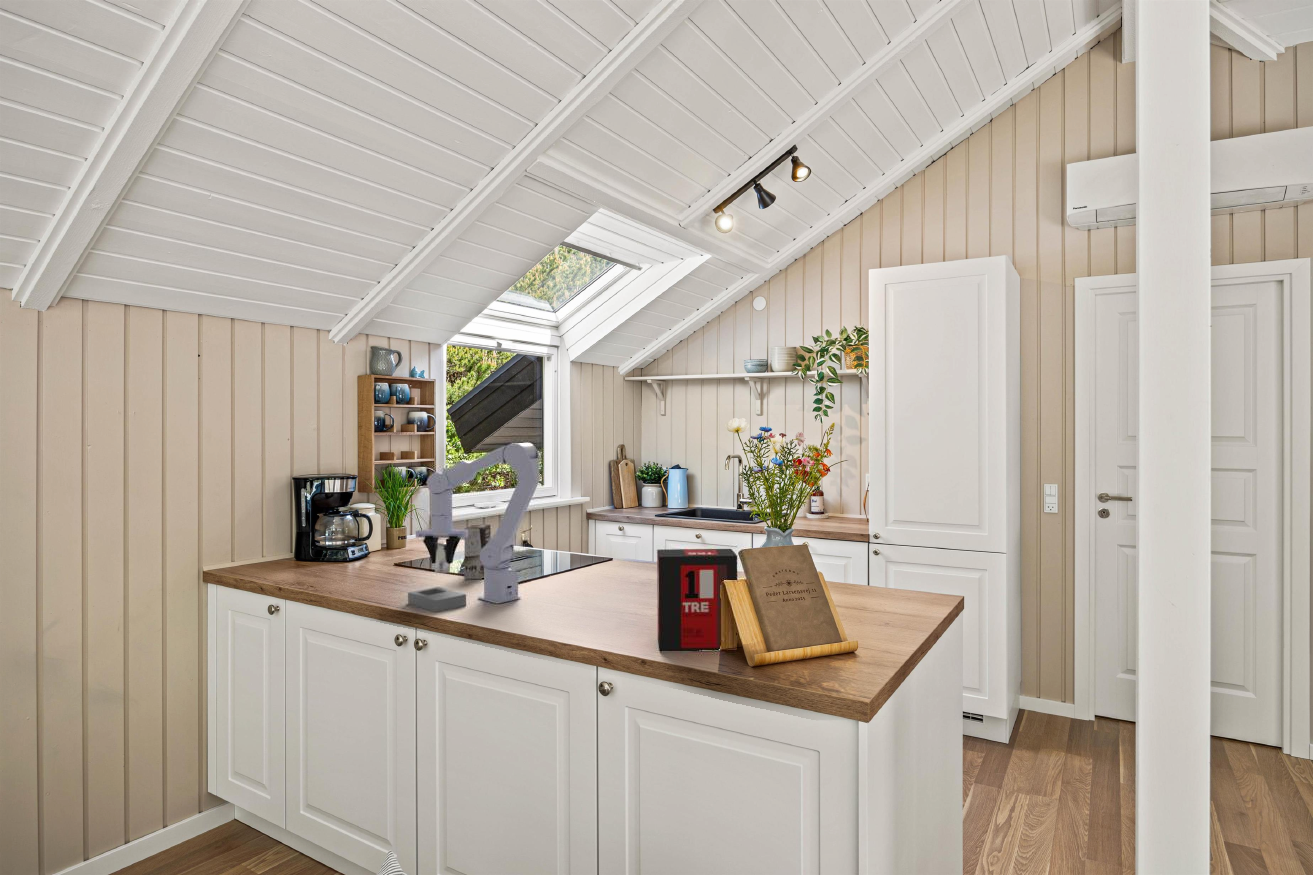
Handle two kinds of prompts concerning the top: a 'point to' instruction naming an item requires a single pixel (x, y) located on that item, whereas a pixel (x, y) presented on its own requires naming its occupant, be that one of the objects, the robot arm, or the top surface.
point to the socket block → (436, 599)
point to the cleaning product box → (691, 597)
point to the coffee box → (475, 550)
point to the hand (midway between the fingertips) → (442, 562)
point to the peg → (441, 558)
